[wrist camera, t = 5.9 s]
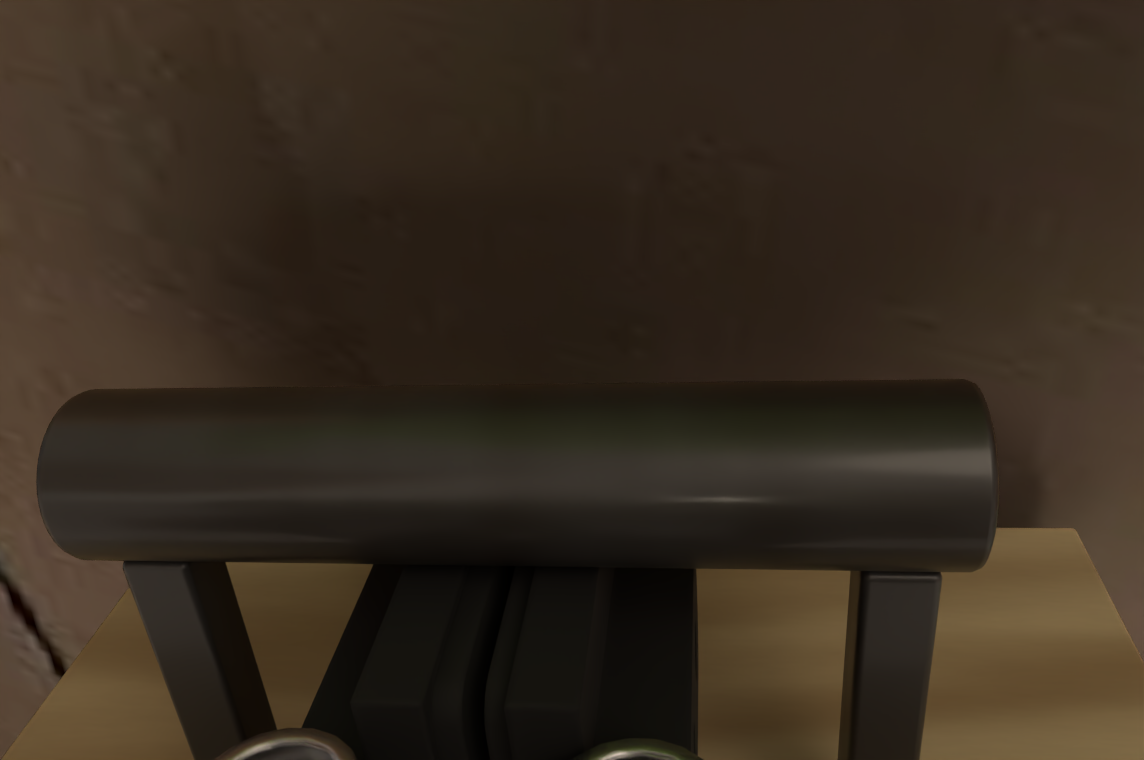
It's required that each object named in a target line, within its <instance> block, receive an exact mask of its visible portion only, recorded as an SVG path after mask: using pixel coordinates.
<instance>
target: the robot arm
mask: <svg viewBox="0 0 1144 760" xmlns="http://www.w3.org/2000/svg"><path fill="white" fill-rule="evenodd" d="M214 760H703V759H702V758H700V757H699V756H698V605H697V574H696V569H682V568H610V567H538V566H466V565H395V564H373V566H372V569H371V571H370V573H369V575H368V578H367V580H366V582H365V585H364V587H363V589H362V591H361V594H360V596H359V598H358V600H357V603H356V605H355V607H354V609H353V612H352V614H351V616H350V619H349V621H348V623H347V625H346V628H345V630H344V632H343V634H342V637H341V639H340V641H339V643H338V646H337V648H336V650H335V653H334V655H333V657H332V659H331V662H330V664H329V666H328V668H327V671H326V673H325V675H324V677H323V680H322V682H321V684H320V687H319V689H318V691H317V693H316V696H315V698H314V700H313V702H312V705H311V707H310V709H309V711H308V714H307V716H306V718H305V720H304V723H303V725H302V727H301V728H284V729H279V730H274V731H270V732H265V733H261V734H258V735H256V736H254V737H251V738H249V739H247V740H245V741H243V742H240V743H238V744H236V745H234V746H232V747H231V748H229V749H228V750H226V751H225V752H224V753H222V754H221V755H220V756H218V757H217V758H215V759H214Z"/></svg>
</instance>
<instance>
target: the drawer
mask: <svg viewBox="0 0 1144 760" xmlns="http://www.w3.org/2000/svg"><path fill="white" fill-rule="evenodd" d="M37 496H38V504H39V508H40V512H41V516H42V519H43V522H44V524H45V526H46V529H47V531H48V533H49V534H50V536H51V537H52V539H53V541H54V542H55V543H56V544H57V545H58V546H59V547H60V548H61V549H62V550H64V551H65V552H67V553H68V554H70V555H72V556H74V557H76V558H79V559H82V560H108V561H124V563H123V571H124V573H125V576H126V579H127V581H128V584H129V588H128V589H127V591H126V592H125V593H124V595H123V596H122V598H121V599H120V600H119V602H118V603H117V604H116V606H115V607H114V608H113V610H112V611H111V612H110V614H109V615H108V616H107V618H106V619H105V620H104V622H103V623H102V624H101V626H100V627H99V628H98V630H97V631H96V632H95V634H94V635H93V636H92V638H91V639H90V640H89V642H88V643H87V645H86V646H85V647H84V649H83V650H82V651H81V653H80V654H79V655H78V657H77V658H76V659H75V661H74V662H73V663H72V665H71V666H70V667H69V669H68V670H67V671H66V673H65V674H64V675H63V677H62V678H61V679H60V681H59V682H58V683H57V685H56V686H55V687H54V689H53V690H52V692H51V693H50V694H49V696H48V697H47V698H46V700H45V701H44V702H43V704H42V705H41V706H40V708H39V709H38V710H37V712H36V713H35V714H34V716H33V717H32V718H31V720H30V721H29V722H28V724H27V725H26V726H25V728H24V729H23V730H22V732H21V733H20V734H19V736H18V737H17V738H16V740H15V741H14V743H13V744H12V745H11V747H10V748H9V749H8V751H7V752H6V753H5V755H4V756H3V757H2V759H1V760H214V759H215V758H217V757H218V756H220V755H221V754H222V753H224V752H225V751H226V750H228V749H229V748H231V747H232V746H234V745H236V744H238V743H240V742H243V741H245V740H247V739H249V738H251V737H254V736H256V735H258V734H261V733H265V732H270V731H274V730H279V729H284V728H301V727H302V725H303V723H304V720H305V718H306V716H307V714H308V711H309V709H310V707H311V705H312V702H313V700H314V698H315V696H316V693H317V691H318V689H319V687H320V684H321V682H322V680H323V677H324V675H325V673H326V671H327V668H328V666H329V664H330V662H331V659H332V657H333V655H334V653H335V650H336V648H337V646H338V643H339V641H340V639H341V637H342V634H343V632H344V630H345V628H346V625H347V623H348V621H349V619H350V616H351V614H352V612H353V609H354V607H355V605H356V603H357V600H358V598H359V596H360V594H361V591H362V589H363V587H364V585H365V582H366V580H367V578H368V575H369V573H370V571H371V569H372V566H373V564H395V565H466V566H538V567H610V568H682V569H696V574H697V605H698V756H699V757H700V758H702V759H703V760H1144V662H1143V660H1142V658H1141V656H1140V654H1139V652H1138V650H1137V649H1136V647H1135V645H1134V643H1133V641H1132V639H1131V637H1130V635H1129V633H1128V631H1127V629H1126V627H1125V625H1124V623H1123V621H1122V619H1121V617H1120V615H1119V613H1118V611H1117V609H1116V607H1115V606H1114V604H1113V602H1112V600H1111V598H1110V596H1109V594H1108V592H1107V590H1106V588H1105V586H1104V584H1103V582H1102V580H1101V578H1100V576H1099V574H1098V572H1097V570H1096V568H1095V566H1094V564H1093V563H1092V561H1091V559H1090V557H1089V555H1088V553H1087V551H1086V549H1085V547H1084V545H1083V543H1082V541H1081V539H1080V537H1079V535H1078V533H1077V531H1076V530H1075V529H1073V528H996V527H997V519H998V508H999V467H998V455H997V446H996V439H995V433H994V428H993V423H992V419H991V415H990V412H989V409H988V406H987V403H986V401H985V398H984V396H983V394H982V392H981V390H980V388H979V387H978V386H977V385H976V384H975V383H973V382H971V381H968V380H965V379H928V380H842V381H756V382H670V383H584V384H499V385H413V386H327V387H241V388H155V389H94V390H88V391H85V392H82V393H80V394H78V395H76V396H74V397H73V398H71V399H70V400H68V401H67V402H66V403H65V404H64V405H63V406H62V407H61V408H60V409H59V410H58V411H57V413H56V414H55V416H54V417H53V419H52V421H51V422H50V424H49V426H48V428H47V431H46V433H45V435H44V438H43V441H42V445H41V448H40V453H39V458H38V465H37Z"/></svg>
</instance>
